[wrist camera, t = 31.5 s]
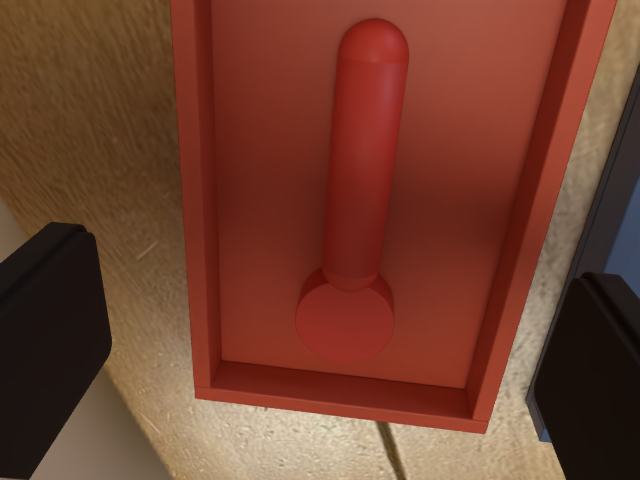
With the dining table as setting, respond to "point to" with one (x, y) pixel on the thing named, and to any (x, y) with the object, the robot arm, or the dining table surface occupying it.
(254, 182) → the red tray
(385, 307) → the red spoon
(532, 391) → the blue tray
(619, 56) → the dining table surface
